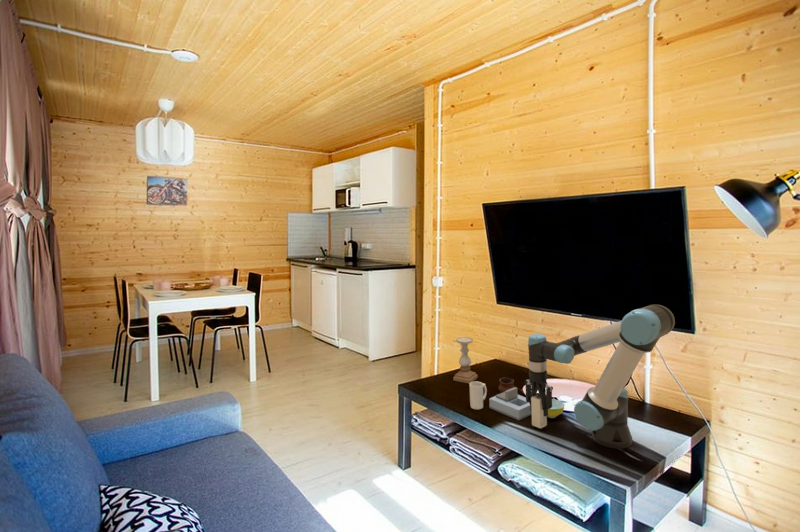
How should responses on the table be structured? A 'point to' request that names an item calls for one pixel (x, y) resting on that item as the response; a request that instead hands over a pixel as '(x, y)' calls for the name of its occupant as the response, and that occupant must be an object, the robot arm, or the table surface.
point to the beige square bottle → (537, 411)
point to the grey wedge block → (508, 394)
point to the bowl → (555, 408)
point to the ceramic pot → (506, 384)
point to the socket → (511, 407)
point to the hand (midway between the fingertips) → (539, 420)
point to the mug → (477, 394)
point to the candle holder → (465, 363)
